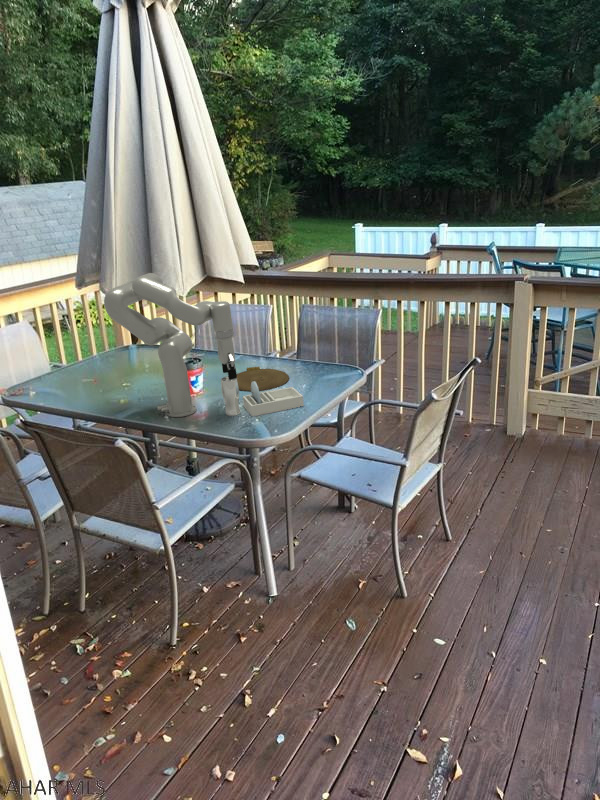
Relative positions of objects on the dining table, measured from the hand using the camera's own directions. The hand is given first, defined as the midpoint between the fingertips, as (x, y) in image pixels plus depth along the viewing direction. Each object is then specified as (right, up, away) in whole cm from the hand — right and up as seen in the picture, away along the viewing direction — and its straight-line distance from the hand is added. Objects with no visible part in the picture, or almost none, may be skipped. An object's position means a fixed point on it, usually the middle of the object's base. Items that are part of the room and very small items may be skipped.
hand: (229, 375), depth 248 cm
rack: (+17, -12, +10) cm, 23 cm away
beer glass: (+1, -15, +6) cm, 17 cm away
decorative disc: (+9, -1, +43) cm, 44 cm away
